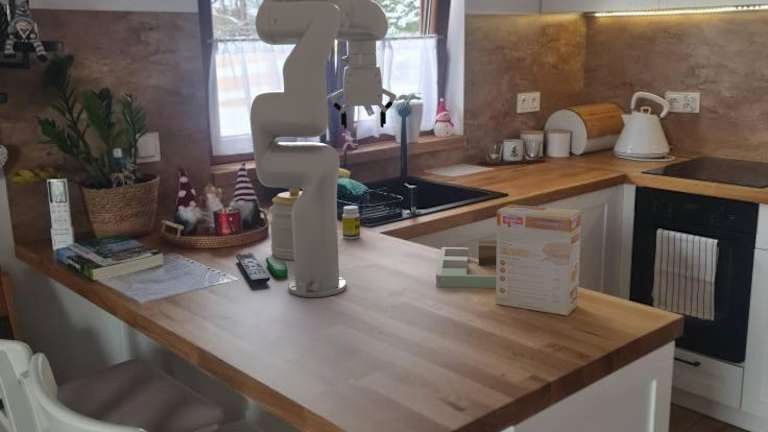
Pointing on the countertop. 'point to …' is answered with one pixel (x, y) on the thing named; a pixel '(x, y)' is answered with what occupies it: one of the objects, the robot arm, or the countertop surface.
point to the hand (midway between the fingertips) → (363, 127)
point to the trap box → (459, 270)
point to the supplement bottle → (351, 222)
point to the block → (487, 252)
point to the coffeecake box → (538, 258)
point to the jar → (283, 224)
